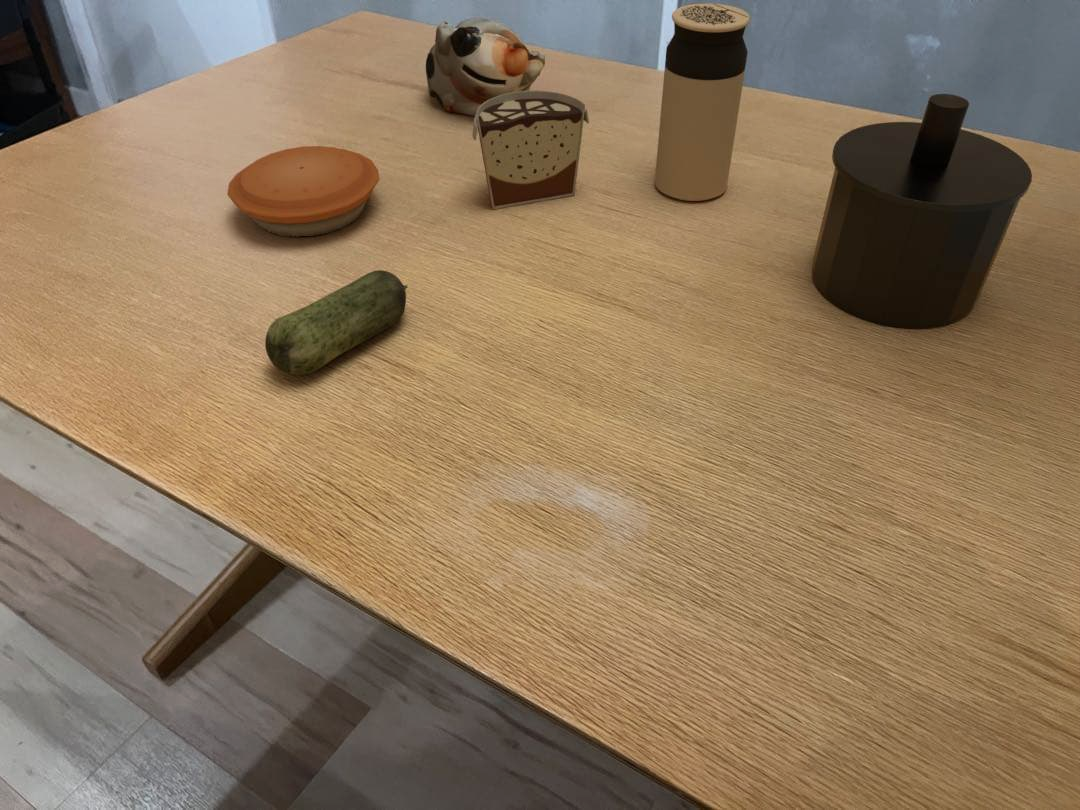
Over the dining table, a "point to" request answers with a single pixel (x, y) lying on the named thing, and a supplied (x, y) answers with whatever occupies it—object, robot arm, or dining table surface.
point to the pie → (305, 189)
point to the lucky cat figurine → (478, 64)
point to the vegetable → (335, 323)
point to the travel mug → (700, 100)
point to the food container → (530, 146)
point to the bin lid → (933, 162)
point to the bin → (904, 258)
